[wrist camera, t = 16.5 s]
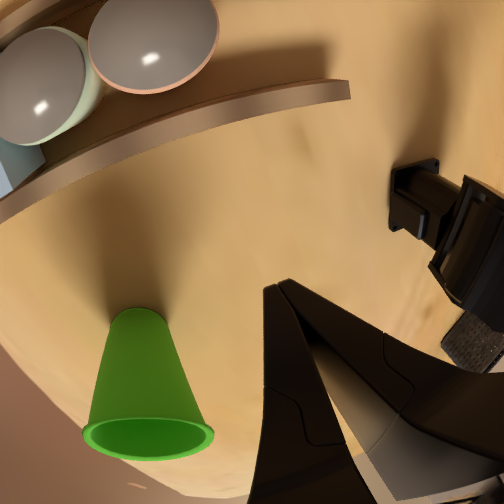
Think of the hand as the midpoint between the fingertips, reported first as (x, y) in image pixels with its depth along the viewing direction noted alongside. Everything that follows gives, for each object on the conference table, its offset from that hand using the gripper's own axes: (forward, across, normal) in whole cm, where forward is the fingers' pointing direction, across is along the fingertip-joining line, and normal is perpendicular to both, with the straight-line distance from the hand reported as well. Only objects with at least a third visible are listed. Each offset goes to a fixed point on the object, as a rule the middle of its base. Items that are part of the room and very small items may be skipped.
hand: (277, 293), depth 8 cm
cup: (+12, +10, +11) cm, 19 cm away
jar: (+12, +1, -9) cm, 15 cm away
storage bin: (+12, -52, +45) cm, 70 cm away
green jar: (+12, +7, -9) cm, 17 cm away
